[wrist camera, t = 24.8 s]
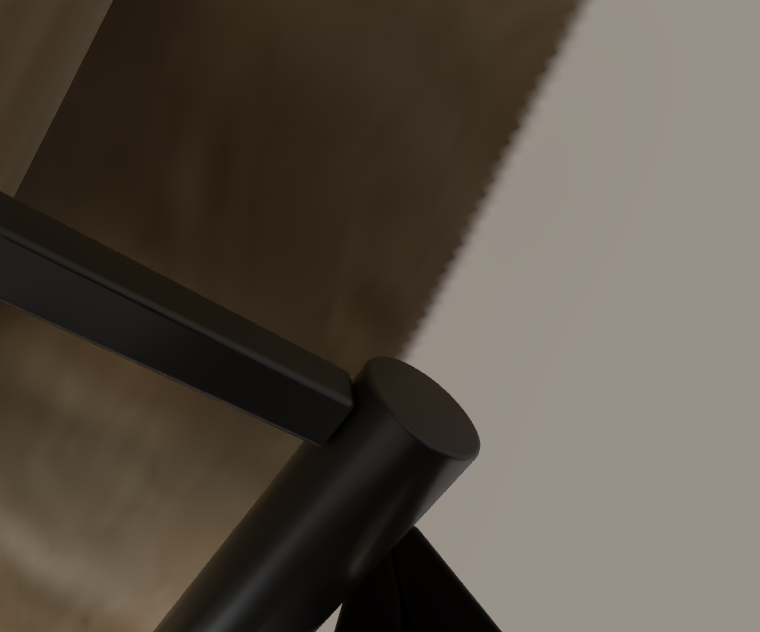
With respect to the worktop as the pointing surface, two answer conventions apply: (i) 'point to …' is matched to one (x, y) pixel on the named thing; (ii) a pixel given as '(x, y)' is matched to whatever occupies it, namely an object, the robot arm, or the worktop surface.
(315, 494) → the drawer
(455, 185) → the worktop surface
